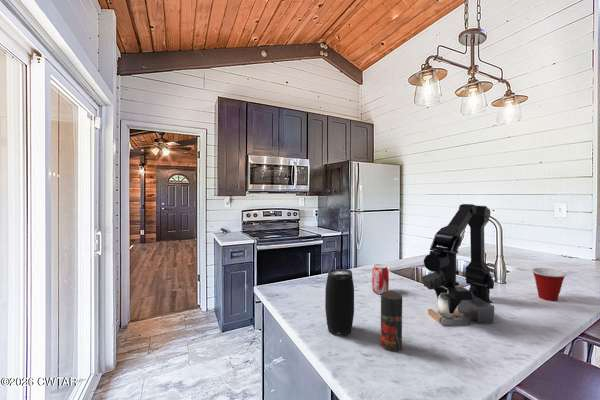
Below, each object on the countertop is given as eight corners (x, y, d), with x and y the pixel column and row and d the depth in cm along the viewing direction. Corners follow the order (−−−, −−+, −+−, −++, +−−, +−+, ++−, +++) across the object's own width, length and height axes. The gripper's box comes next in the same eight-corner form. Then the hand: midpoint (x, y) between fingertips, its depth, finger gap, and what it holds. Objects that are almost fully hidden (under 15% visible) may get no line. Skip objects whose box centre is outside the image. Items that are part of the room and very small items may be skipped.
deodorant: (377, 340, 81) (377, 291, 81) (396, 339, 82) (396, 291, 81) (385, 352, 75) (385, 299, 75) (405, 351, 76) (406, 299, 75)
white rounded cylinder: (448, 310, 99) (448, 291, 98) (457, 317, 94) (457, 297, 93) (435, 311, 98) (435, 292, 98) (443, 317, 93) (443, 297, 93)
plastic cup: (525, 296, 116) (526, 268, 116) (538, 292, 121) (539, 265, 120) (558, 305, 106) (558, 275, 106) (570, 301, 111) (571, 272, 110)
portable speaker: (320, 328, 89) (320, 269, 88) (341, 321, 94) (342, 265, 93) (337, 340, 81) (337, 276, 81) (359, 332, 86) (359, 271, 86)
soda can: (389, 295, 116) (389, 268, 116) (372, 294, 118) (372, 267, 117) (387, 290, 123) (387, 264, 123) (371, 289, 125) (371, 263, 124)
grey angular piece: (468, 308, 104) (469, 292, 104) (494, 323, 92) (494, 306, 92) (422, 310, 102) (423, 294, 102) (442, 326, 90) (443, 308, 90)
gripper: (412, 260, 104) (411, 300, 104) (441, 275, 85) (440, 323, 86) (439, 259, 105) (438, 299, 105) (474, 274, 86) (473, 322, 87)
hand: (446, 309), depth 96 cm, fingers closed on white rounded cylinder, 5 cm apart
